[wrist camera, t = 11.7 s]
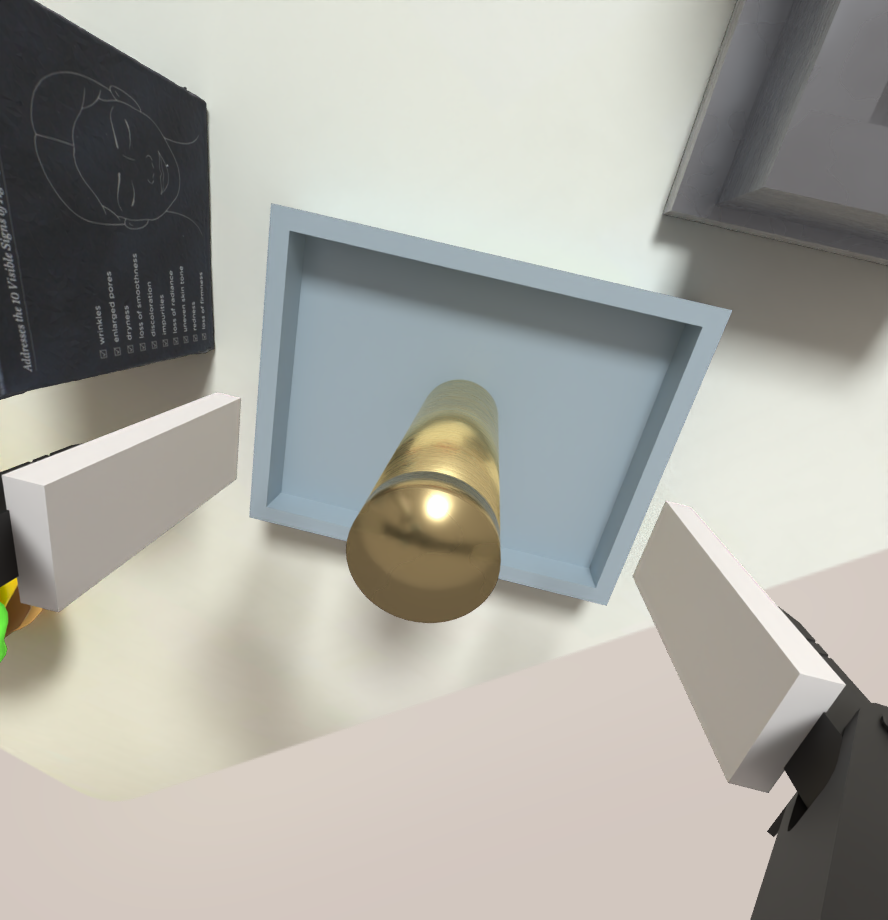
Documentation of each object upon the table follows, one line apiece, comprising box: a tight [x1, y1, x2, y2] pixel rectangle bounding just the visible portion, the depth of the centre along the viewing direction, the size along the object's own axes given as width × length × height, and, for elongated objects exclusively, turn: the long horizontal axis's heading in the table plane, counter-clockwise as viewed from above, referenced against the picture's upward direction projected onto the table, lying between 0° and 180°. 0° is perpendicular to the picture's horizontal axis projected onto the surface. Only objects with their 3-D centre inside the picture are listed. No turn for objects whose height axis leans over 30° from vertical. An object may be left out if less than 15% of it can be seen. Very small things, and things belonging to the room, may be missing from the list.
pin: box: [346, 380, 501, 623], centre depth 16 cm, size 4×4×12 cm
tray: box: [249, 203, 732, 606], centre depth 22 cm, size 18×14×2 cm
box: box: [0, 0, 214, 400], centre depth 16 cm, size 11×7×10 cm, turn 171°
